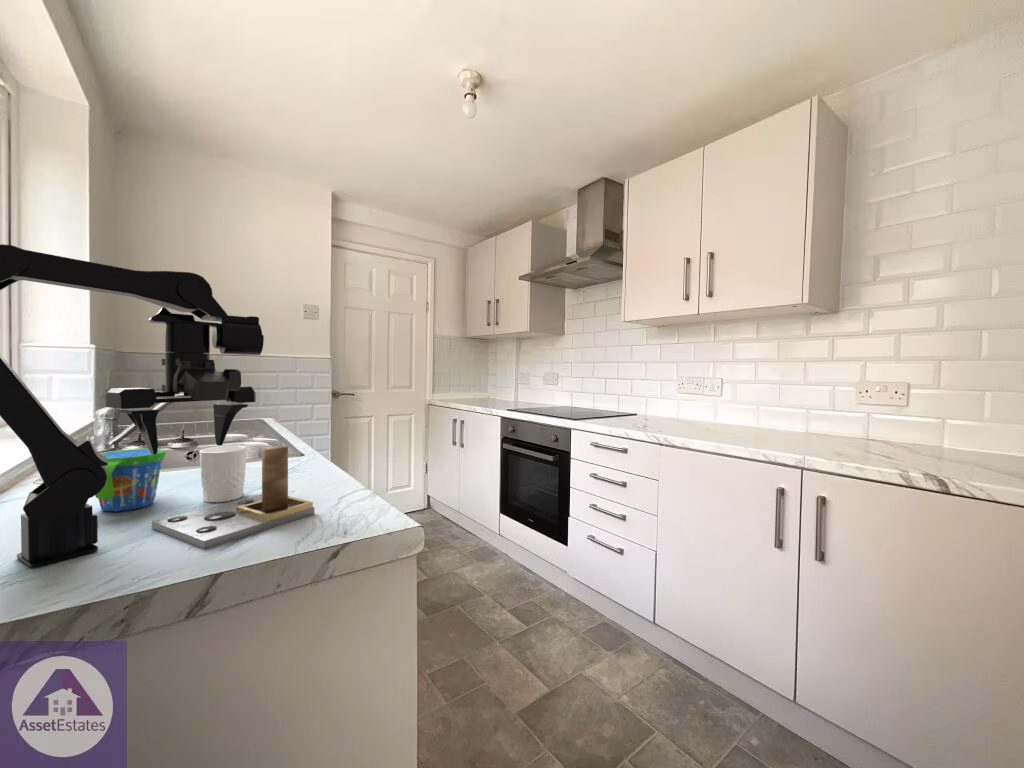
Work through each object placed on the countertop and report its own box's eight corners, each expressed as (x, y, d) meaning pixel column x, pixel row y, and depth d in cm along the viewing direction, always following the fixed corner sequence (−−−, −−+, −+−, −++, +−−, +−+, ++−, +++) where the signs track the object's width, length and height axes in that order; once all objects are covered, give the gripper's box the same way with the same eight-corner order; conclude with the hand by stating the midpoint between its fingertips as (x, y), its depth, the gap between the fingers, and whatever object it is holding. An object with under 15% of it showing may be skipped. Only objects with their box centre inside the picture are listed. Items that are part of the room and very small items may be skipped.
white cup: (255, 493, 90) (255, 446, 89) (226, 504, 82) (226, 453, 81) (220, 491, 90) (220, 444, 90) (189, 502, 83) (189, 451, 82)
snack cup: (124, 495, 86) (124, 446, 86) (183, 493, 89) (183, 445, 88) (60, 522, 71) (59, 462, 71) (133, 519, 73) (132, 460, 73)
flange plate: (204, 549, 61) (204, 534, 61) (151, 528, 69) (151, 515, 69) (314, 513, 77) (314, 501, 77) (262, 500, 85) (262, 489, 85)
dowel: (263, 514, 72) (263, 450, 72) (260, 508, 76) (260, 447, 75) (289, 510, 75) (289, 448, 75) (285, 504, 78) (285, 445, 78)
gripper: (138, 349, 56) (139, 465, 57) (274, 355, 73) (274, 445, 73) (103, 350, 62) (104, 456, 62) (237, 355, 78) (237, 440, 79)
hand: (188, 449), depth 69 cm, fingers open, 9 cm apart
